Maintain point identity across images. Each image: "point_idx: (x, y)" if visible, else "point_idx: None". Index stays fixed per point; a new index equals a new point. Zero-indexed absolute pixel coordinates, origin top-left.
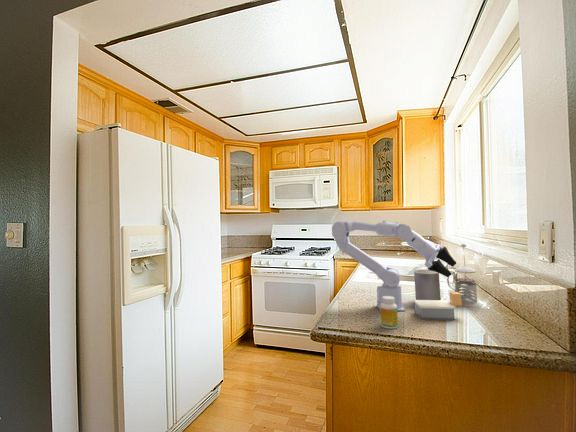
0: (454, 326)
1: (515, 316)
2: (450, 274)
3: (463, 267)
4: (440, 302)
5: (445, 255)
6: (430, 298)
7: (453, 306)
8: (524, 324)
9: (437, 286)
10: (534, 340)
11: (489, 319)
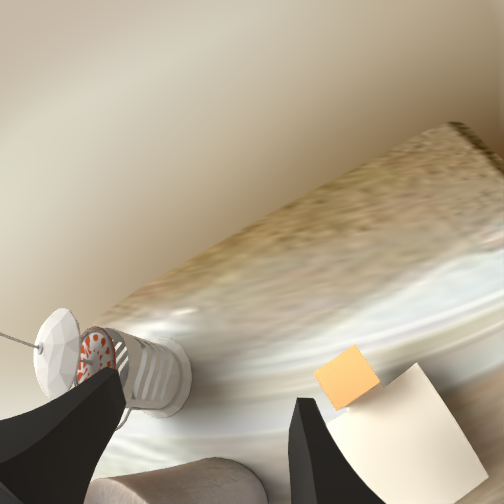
0: (480, 344)
1: (242, 234)
2: (316, 405)
3: (46, 353)
4: (373, 441)
5: (58, 456)
6: (250, 497)
7: (414, 371)
8: (310, 201)
9: (192, 481)
10: (427, 162)
11: (321, 280)
